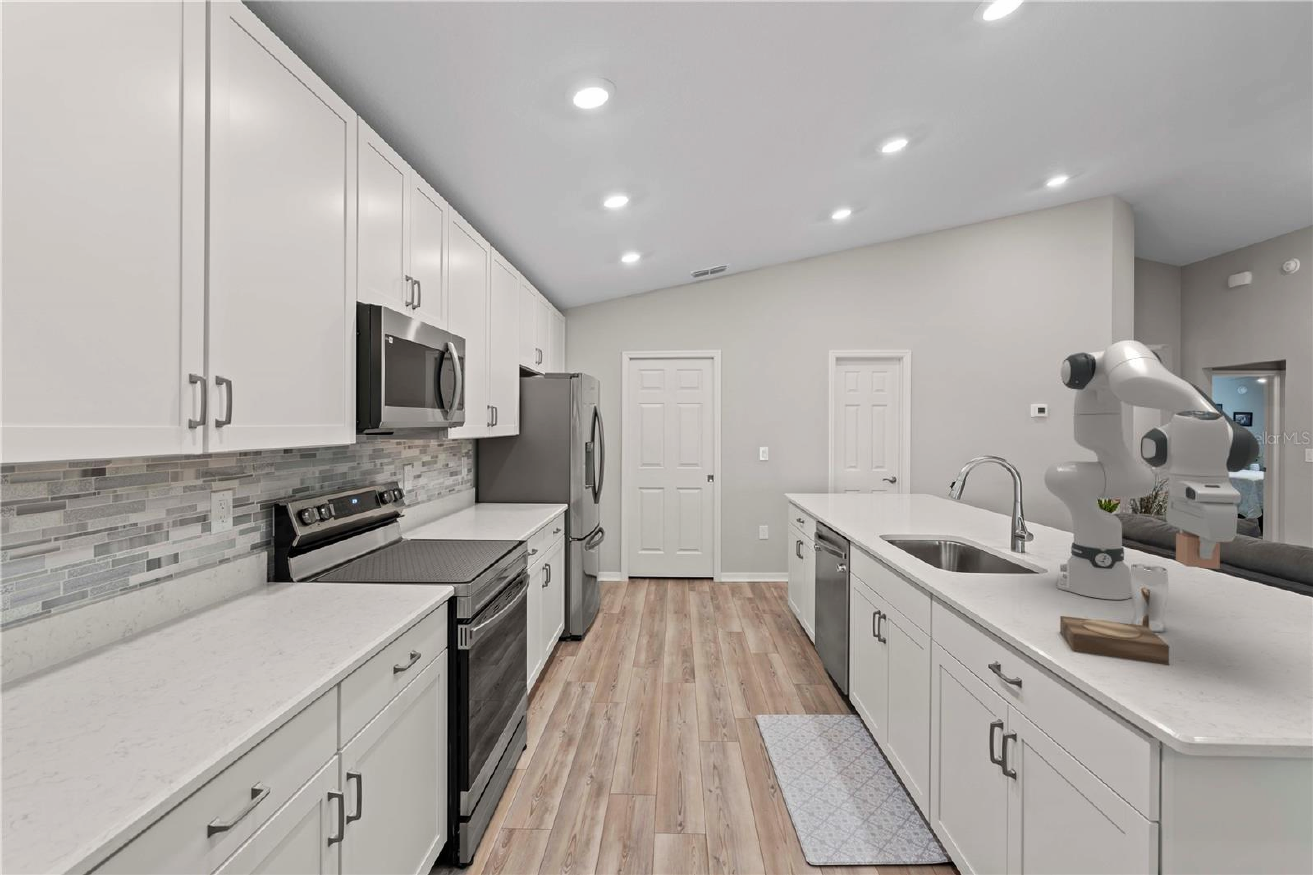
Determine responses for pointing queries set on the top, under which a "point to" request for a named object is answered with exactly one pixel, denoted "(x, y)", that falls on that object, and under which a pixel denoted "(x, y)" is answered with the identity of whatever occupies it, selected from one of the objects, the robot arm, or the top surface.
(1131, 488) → the robot arm
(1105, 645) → the block
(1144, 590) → the beer glass
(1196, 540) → the terracotta block
